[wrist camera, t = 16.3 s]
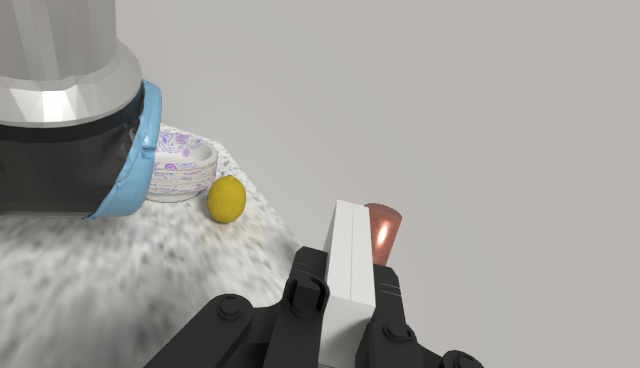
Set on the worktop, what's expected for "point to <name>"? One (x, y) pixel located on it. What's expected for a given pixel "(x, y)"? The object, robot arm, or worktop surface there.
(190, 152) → the paper bowls
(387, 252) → the lever
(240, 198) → the lemon
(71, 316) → the worktop surface
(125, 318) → the worktop surface
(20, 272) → the worktop surface
